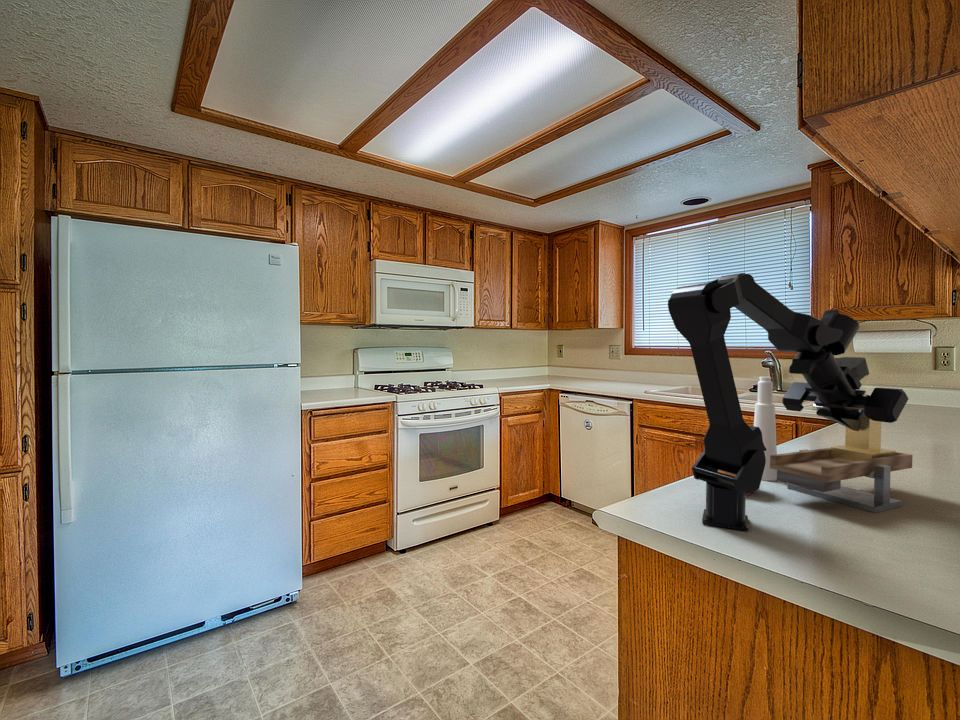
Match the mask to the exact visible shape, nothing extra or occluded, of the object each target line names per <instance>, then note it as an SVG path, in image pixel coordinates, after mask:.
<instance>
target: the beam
mask: <svg viewBox="0 0 960 720" xmlns="http://www.w3.org/2000/svg"><path fill="white" fill-rule="evenodd" d="M806 450H807V451H793V452H785V453H784V452H783V453H777V454H775V455H770V468H771V469H775V470H777V481H779V482H783V483H786V484H788V483H790V484H794V485H797V486H801V487H805V488H809V489H812V490H816V491H820V492H827V491H832V490H838V489H840V488H841V486H842V484H841V482H842V481H844V480H850V479H855V478H856V479H857V478H862V477H865V478H870V479H874V473H875V465H879V464H883V465H888V466H891V471H890V473H891V472H896V471H901V470H902V471H903V470H907V469H913V454H909V453H903V452H898V451H896V455H894V456H888V457H881V458H874V459H868V460H861V461H854V462H853V461H848V460H843V459H838V458H833V457H830V453H831V447H824V448H823V447H822V448H817V449H806Z"/></svg>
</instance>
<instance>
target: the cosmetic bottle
mask: <svg viewBox="0 0 960 720" xmlns="http://www.w3.org/2000/svg"><path fill="white" fill-rule="evenodd" d="M773 388H774V385H773V381H772V377H771V376H759V381H757V402H756V403H755V404H754V414H753V415H754V418H753V426H755V427H759V428H760V430H761V432H762V439H763V443H764V446H765V448H766V451H764V453H765V458H766V463H765V468H764V472H763V476H762V480H761V481H765V482H766V481H767V482H775V481H778V480H777V470H775V469H771V468H770V455H775V454H778V450H777V430H776V429H777V428H776V427H777V425H776V424H777V423H776V422H777V421H776V406H775V404H774V403H773V396H774V395H773V394H774V393H773V392H774V390H773Z"/></svg>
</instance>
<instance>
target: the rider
mask: <svg viewBox="0 0 960 720" xmlns="http://www.w3.org/2000/svg"><path fill="white" fill-rule="evenodd" d="M844 435H845V437H844V438H845V441H844V442H845V443H844V444H843V445H836V446H835V445H834V446H831V447H830V448H831V453H830V457H833V458H838V459H843V460H848V461H853V462H854V461H861V460H868V459H874V458H881V457H888V456H894V455H896V452H897V451H896V450H893V449H886V448H881V446H882V445H881V444H882V442H881V441H882V422H880V421H873V420H871V419H869V418H867V417H866V416H865V414H864V413H863V415H862V417H861V428H860V430H859V431H854V430H852V429H849V428H847V427H845V434H844Z"/></svg>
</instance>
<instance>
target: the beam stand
mask: <svg viewBox="0 0 960 720" xmlns="http://www.w3.org/2000/svg"><path fill="white" fill-rule="evenodd" d="M807 450H808V449H799V451H807ZM799 451H798V452H799ZM890 471H891V466H888V465H883V464H879V465H875V473H874V478H873V480H874V482H873V487H874V489H873V493H871V492H868V491H864V490H859V489H855V488H851V487H847V486H843V485H841V488H840V489H838V490H832V491H827V492H820V491H816V490H812V489H809V488H805V487H801V486H797V485H794V484H790V483H787V489H788V490H791V489H792V491H795V492H799V493H801V494H802V493H803V494H806V495H809V494H810V496H813V497H817V498H821V499H825V500H827V499H828V501H831V502H836V503H839V504H842V505H845V504H847V505H846V506H849V505H850V506H849V507H852V506H854V507H853V508H856V507H857V509H860V508H861V509H860V510H863V509H864V511H866V512H870V511H871V513H873V514H874V513H876V512H877V513H881V512H883V511H888V510H892V509H896V508H901V507H902V500H900V499H896V498H892V497H891V472H892V471H891V472H890ZM877 513H876V514H877Z"/></svg>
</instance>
